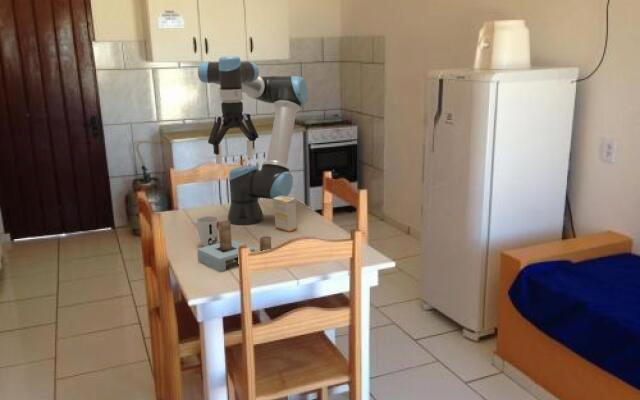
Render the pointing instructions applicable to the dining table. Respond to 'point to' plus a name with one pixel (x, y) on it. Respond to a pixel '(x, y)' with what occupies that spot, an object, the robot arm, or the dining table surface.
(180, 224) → the dining table surface
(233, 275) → the dining table surface
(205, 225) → the cup
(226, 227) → the long pin
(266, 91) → the robot arm
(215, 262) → the square hole board
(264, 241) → the short pin
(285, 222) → the supplement box
